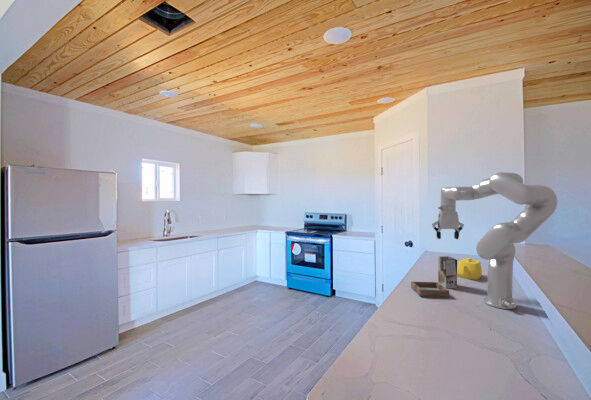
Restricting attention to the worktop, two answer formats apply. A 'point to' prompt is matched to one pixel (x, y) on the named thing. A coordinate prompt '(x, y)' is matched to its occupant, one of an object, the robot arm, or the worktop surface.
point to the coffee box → (447, 272)
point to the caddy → (430, 289)
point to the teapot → (469, 269)
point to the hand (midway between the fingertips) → (447, 238)
